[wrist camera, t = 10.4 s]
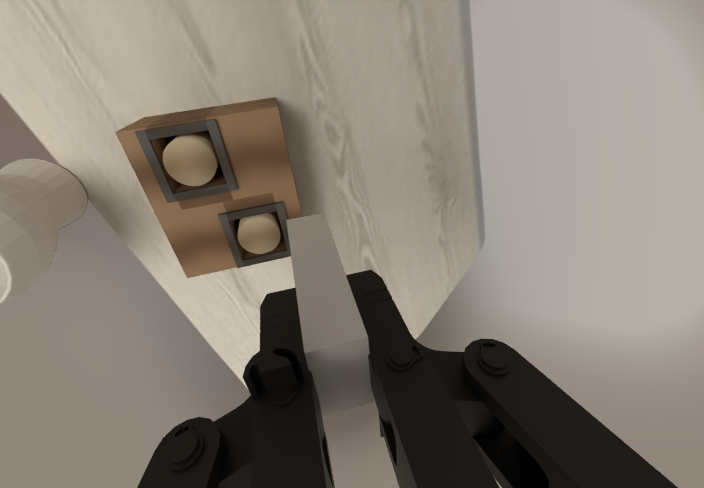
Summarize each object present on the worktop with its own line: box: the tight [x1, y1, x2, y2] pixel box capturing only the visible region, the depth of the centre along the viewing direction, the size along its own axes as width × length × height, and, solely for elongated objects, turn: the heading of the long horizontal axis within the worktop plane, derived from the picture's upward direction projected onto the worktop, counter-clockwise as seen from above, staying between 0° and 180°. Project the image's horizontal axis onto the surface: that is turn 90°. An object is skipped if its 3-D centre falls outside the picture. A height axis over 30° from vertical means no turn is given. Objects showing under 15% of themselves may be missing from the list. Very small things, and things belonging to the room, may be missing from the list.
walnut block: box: [115, 98, 302, 278], centre depth 36 cm, size 16×14×8 cm
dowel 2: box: [238, 211, 280, 254], centre depth 38 cm, size 4×4×8 cm
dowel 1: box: [163, 130, 219, 186], centre depth 33 cm, size 4×4×8 cm
